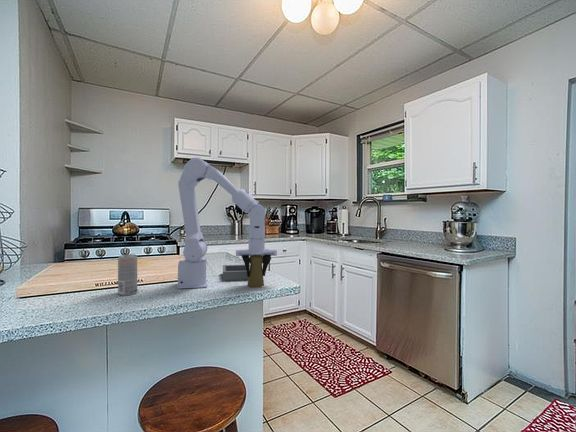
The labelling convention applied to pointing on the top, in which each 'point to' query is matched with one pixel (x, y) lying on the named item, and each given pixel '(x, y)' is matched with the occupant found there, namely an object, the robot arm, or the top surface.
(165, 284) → the top surface
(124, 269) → the energy drink
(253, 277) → the cork
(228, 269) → the box
